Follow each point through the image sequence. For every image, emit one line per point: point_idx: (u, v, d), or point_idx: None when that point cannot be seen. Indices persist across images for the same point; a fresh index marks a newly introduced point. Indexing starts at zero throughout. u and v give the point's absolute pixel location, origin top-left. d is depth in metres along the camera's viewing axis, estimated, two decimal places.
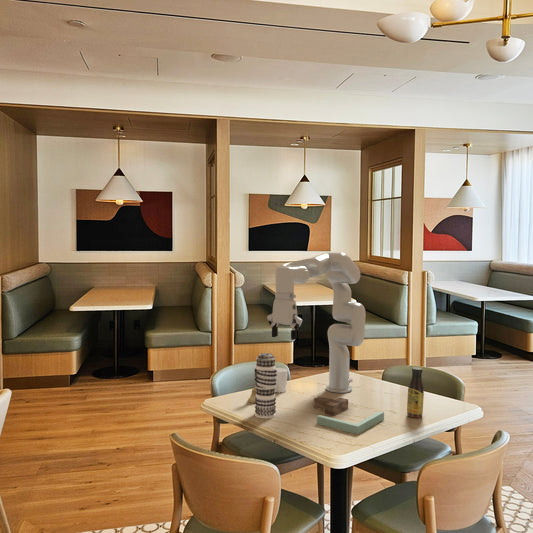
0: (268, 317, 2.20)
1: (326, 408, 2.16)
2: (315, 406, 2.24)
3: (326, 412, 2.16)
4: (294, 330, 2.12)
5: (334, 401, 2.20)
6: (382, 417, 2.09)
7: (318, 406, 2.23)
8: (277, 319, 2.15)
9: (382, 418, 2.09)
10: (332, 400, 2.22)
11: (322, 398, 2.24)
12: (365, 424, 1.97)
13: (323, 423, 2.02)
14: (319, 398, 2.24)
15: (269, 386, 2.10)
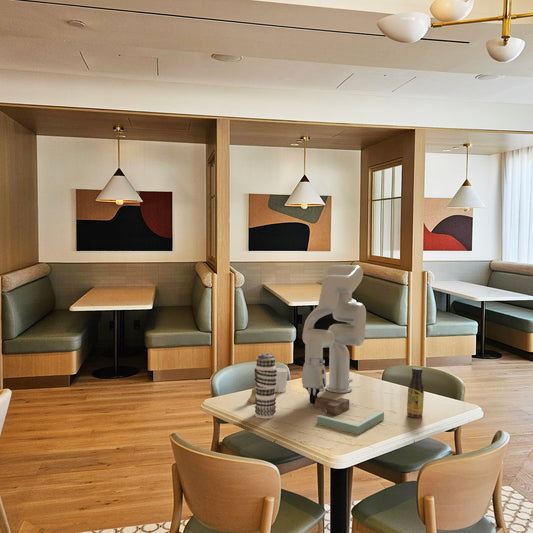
0: (304, 386, 2.29)
1: (327, 408, 2.16)
2: (316, 406, 2.24)
3: (327, 412, 2.16)
4: (315, 395, 2.25)
5: (335, 401, 2.20)
6: (382, 417, 2.09)
7: (319, 406, 2.23)
8: (307, 382, 2.26)
9: (382, 418, 2.09)
10: (333, 400, 2.21)
11: (323, 398, 2.24)
12: (365, 424, 1.97)
13: (323, 423, 2.02)
14: (320, 398, 2.24)
15: (269, 386, 2.10)
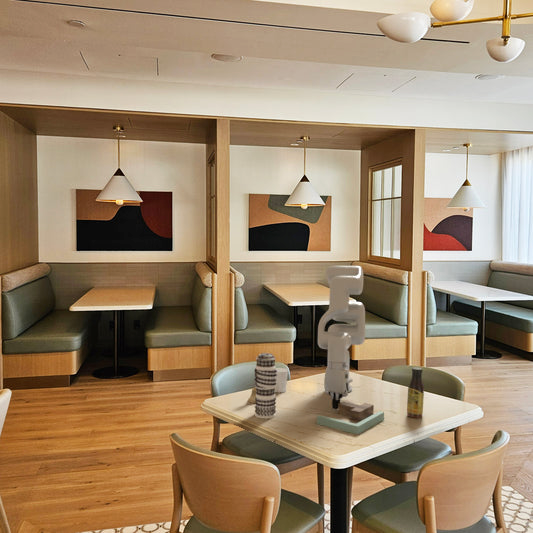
0: (326, 390, 2.22)
1: (351, 414, 2.08)
2: (339, 412, 2.17)
3: (351, 418, 2.08)
4: (337, 400, 2.18)
5: (359, 407, 2.13)
6: (382, 417, 2.09)
7: (342, 412, 2.16)
8: (329, 387, 2.19)
9: (382, 418, 2.09)
10: (357, 406, 2.14)
11: (346, 403, 2.17)
12: (365, 424, 1.97)
13: (323, 423, 2.02)
14: (343, 403, 2.17)
15: (269, 386, 2.10)
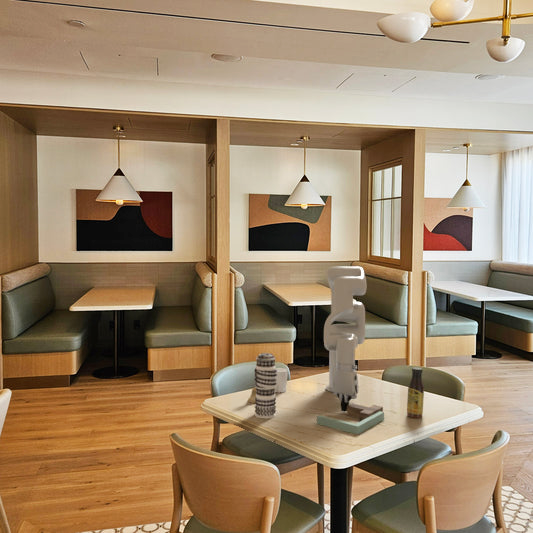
0: (334, 392, 2.20)
1: (360, 416, 2.06)
2: (348, 414, 2.14)
3: (360, 420, 2.06)
4: (346, 402, 2.16)
5: (368, 409, 2.10)
6: (382, 417, 2.09)
7: (351, 414, 2.13)
8: (338, 389, 2.17)
9: (382, 418, 2.09)
10: (366, 407, 2.12)
11: (355, 405, 2.14)
12: (365, 424, 1.97)
13: (323, 423, 2.02)
14: (352, 405, 2.14)
15: (269, 386, 2.10)
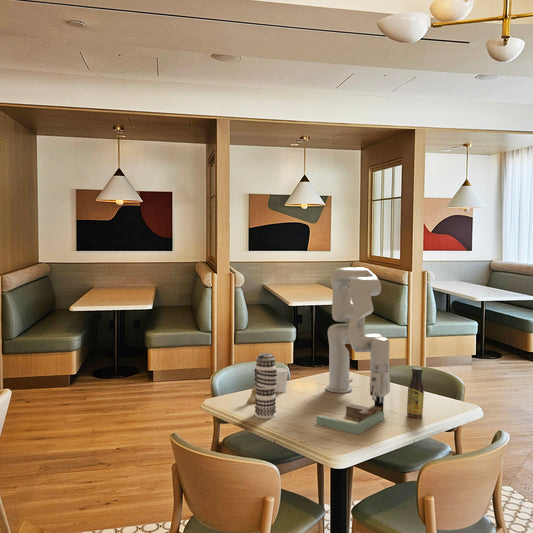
0: None
1: (359, 416, 2.06)
2: (347, 414, 2.14)
3: (359, 421, 2.06)
4: (375, 402, 2.15)
5: (367, 409, 2.10)
6: (382, 417, 2.09)
7: (350, 414, 2.13)
8: None
9: (382, 418, 2.09)
10: (365, 408, 2.11)
11: (354, 406, 2.14)
12: (365, 424, 1.97)
13: (323, 423, 2.02)
14: (351, 406, 2.14)
15: (269, 386, 2.10)
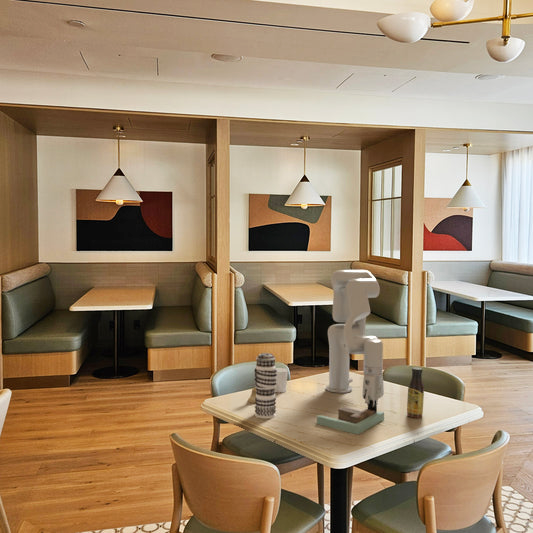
0: None
1: (351, 420, 2.01)
2: (339, 417, 2.10)
3: None
4: (368, 406, 2.11)
5: (360, 412, 2.05)
6: (382, 417, 2.09)
7: (342, 417, 2.09)
8: None
9: (382, 418, 2.09)
10: (358, 411, 2.07)
11: (347, 409, 2.10)
12: (365, 424, 1.97)
13: (323, 423, 2.02)
14: (344, 409, 2.10)
15: (269, 386, 2.10)
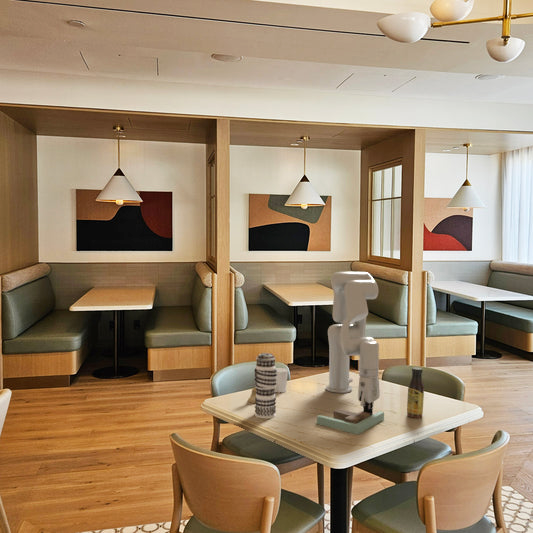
0: None
1: None
2: None
3: None
4: (364, 408, 2.08)
5: (355, 415, 2.03)
6: (382, 417, 2.09)
7: None
8: None
9: (382, 418, 2.09)
10: (353, 413, 2.04)
11: (342, 411, 2.07)
12: (365, 424, 1.97)
13: (323, 423, 2.02)
14: (339, 411, 2.07)
15: (269, 386, 2.10)
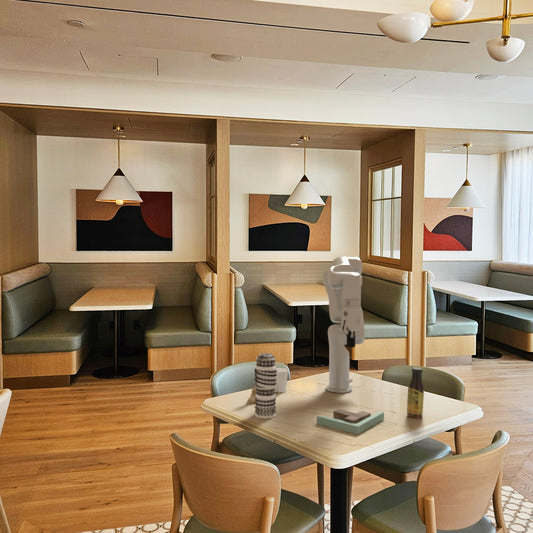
0: None
1: None
2: None
3: None
4: (347, 337, 2.19)
5: (355, 415, 2.03)
6: (382, 417, 2.09)
7: None
8: None
9: (382, 418, 2.09)
10: (353, 414, 2.04)
11: (342, 411, 2.07)
12: (365, 424, 1.97)
13: (323, 423, 2.02)
14: (339, 411, 2.07)
15: (269, 386, 2.10)
